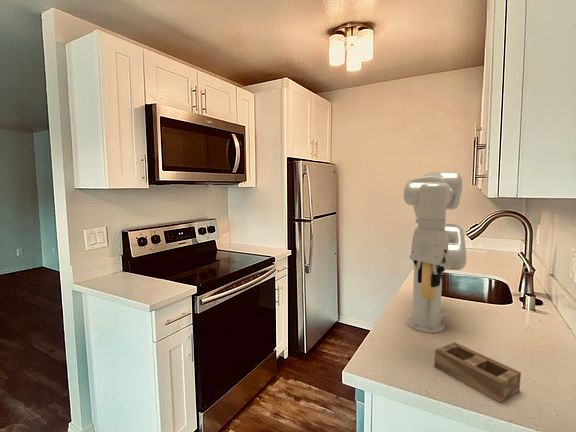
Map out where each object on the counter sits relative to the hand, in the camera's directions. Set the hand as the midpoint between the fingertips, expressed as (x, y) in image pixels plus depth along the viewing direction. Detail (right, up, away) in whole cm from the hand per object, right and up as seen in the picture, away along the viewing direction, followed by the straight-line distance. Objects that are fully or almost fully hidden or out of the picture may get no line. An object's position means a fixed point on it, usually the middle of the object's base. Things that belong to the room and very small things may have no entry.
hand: (428, 283), depth 101 cm
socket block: (+8, -23, -11) cm, 27 cm away
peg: (0, -4, 0) cm, 4 cm away
